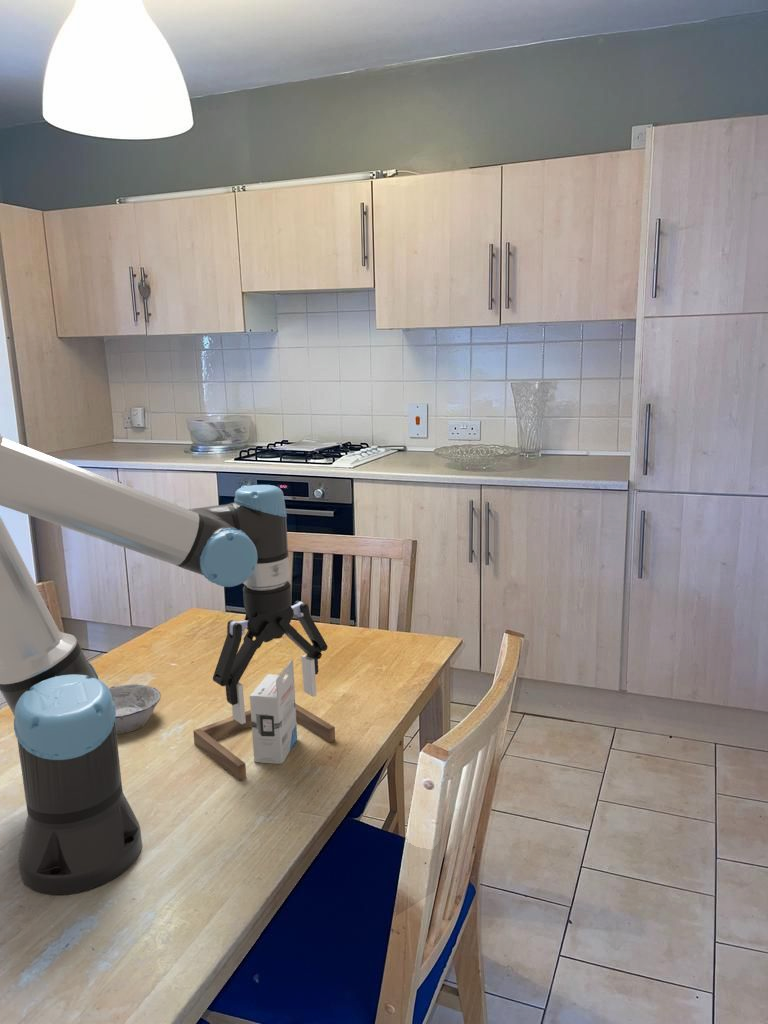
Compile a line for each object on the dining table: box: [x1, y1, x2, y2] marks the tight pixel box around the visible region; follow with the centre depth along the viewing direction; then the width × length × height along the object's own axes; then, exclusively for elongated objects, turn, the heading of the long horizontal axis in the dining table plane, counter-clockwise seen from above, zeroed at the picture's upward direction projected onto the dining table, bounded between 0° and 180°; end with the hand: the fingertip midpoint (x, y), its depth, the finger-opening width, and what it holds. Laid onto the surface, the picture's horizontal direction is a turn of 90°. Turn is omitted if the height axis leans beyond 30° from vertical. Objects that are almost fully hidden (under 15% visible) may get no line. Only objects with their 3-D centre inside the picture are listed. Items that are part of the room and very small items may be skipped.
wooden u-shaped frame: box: [192, 702, 336, 781], centre depth 132 cm, size 18×15×2 cm
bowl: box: [108, 683, 162, 735], centre depth 140 cm, size 13×13×5 cm
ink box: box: [249, 659, 298, 765], centre depth 128 cm, size 9×5×15 cm, turn 168°
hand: (275, 706), depth 128 cm, fingers open, 13 cm apart
